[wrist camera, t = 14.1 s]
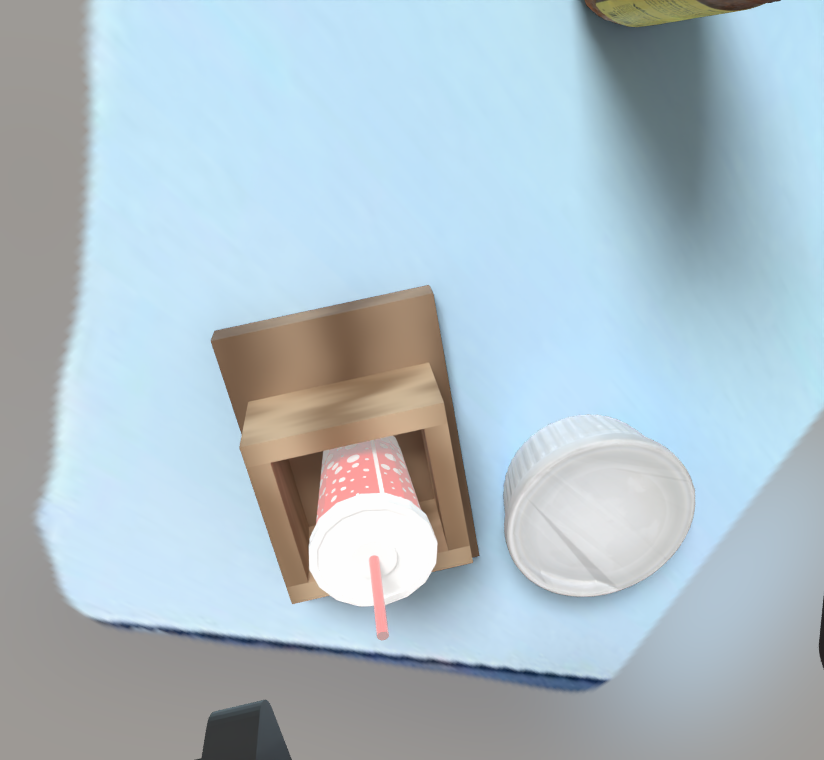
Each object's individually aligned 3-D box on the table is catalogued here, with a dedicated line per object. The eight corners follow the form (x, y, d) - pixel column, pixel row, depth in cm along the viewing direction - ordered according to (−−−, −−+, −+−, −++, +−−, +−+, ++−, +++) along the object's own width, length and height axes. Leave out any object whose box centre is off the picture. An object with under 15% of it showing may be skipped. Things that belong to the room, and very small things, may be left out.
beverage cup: (300, 494, 42) (294, 685, 29) (319, 403, 39) (322, 567, 27) (401, 507, 43) (436, 696, 30) (425, 419, 41) (474, 584, 28)
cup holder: (429, 284, 39) (449, 325, 33) (474, 541, 47) (497, 611, 41) (214, 331, 38) (196, 380, 33) (296, 582, 46) (293, 658, 40)
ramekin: (464, 529, 46) (481, 583, 42) (525, 379, 42) (552, 420, 38) (614, 558, 49) (646, 612, 44) (685, 419, 45) (729, 462, 40)
